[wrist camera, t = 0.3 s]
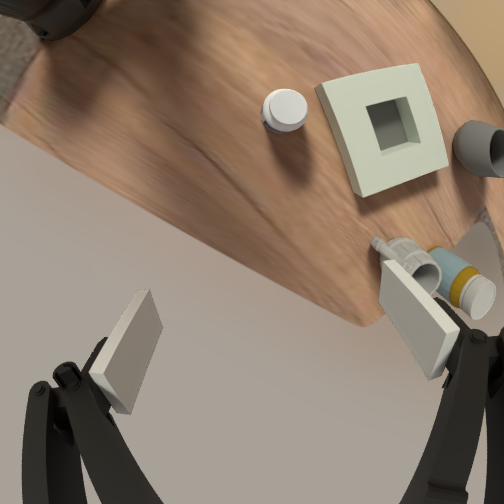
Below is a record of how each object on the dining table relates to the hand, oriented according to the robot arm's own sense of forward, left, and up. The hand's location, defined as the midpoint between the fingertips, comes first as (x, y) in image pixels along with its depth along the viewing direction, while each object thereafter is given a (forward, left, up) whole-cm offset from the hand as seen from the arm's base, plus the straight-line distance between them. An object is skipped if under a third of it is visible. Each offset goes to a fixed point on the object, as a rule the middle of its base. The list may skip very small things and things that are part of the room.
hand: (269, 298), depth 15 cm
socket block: (-4, +21, -26) cm, 34 cm away
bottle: (+22, +25, -26) cm, 43 cm away
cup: (+3, +37, -26) cm, 46 cm away
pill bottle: (-10, +7, -26) cm, 29 cm away
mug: (+16, +17, -26) cm, 35 cm away
